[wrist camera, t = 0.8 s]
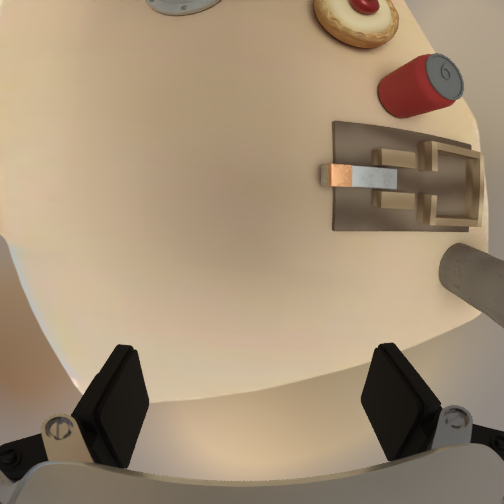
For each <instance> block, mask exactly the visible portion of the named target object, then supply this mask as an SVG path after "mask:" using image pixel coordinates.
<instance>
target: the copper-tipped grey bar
mask: <svg viewBox="0 0 504 504" xmlns="http://www.w3.org/2000/svg"><path fill="white" fill-rule="evenodd" d="M321 185H326V186H341V187H371V188H387V189H397V169H387V168H376V167H363V166H352V165H342V164H327V165H321Z"/></svg>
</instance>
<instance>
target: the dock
mask: <svg viewBox="0 0 504 504" xmlns="http://www.w3.org/2000/svg"><path fill="white" fill-rule="evenodd" d="M332 128H333V164H342V165H352V166H363V167H376V168H387V169H397V189H387V188H371V187H341V186H333V223H332V230H333V231H429V232H468V231H469V226H470V227H481V225H482V214H483V199H484V153H480V152H477V151H473V150H471V145H470V144H466V143H462V142H458V141H454V140H450V139H446V138H442V137H437V136H433V135H428V134H423V133H418V132H413V131H408V130H402V129H396V128H390V127H383V126H376V125H368V124H360V123H351V122H342V121H334V122H332Z"/></svg>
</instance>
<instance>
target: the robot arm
mask: <svg viewBox="0 0 504 504" xmlns="http://www.w3.org/2000/svg"><path fill="white" fill-rule="evenodd" d="M146 1H147V3H148V4H149V6H150V7H151V8H152V9H154V10H155V11H157V12H160V13H162V14H167V15H187V14H192V13H196V12H199V11H202V10H205V9H207V8H209V7H211V6H213V5H215V4H216V3H218V2H219V1H220V0H146ZM361 403H362V406H363V408H364V410H365V412H366V414H367V416H368V418H369V421H370V423H371V425H372V427H373V429H374V431H375V434H376V436H377V438H378V440H379V442H380V445H381V447H382V449H383V451H384V453H385V455H386V457H387V460H388V461H391V462H387V463H383V464H379V465H375V466H371V467H366V468H362V469H357V470H352V471H348V472H341V473H336V474H329V475H323V476H315V477H307V478H298V479H286V480H270V481H214V480H199V479H187V478H178V477H170V476H163V475H156V474H149V473H143V472H137V471H132V470H127V469H124V468H127V467H128V466H129V463H130V460H131V457H132V454H133V451H134V448H135V444H136V442H137V439H138V436H139V433H140V430H141V427H142V424H143V421H144V419H145V416H146V413H147V410H148V407H149V398H148V394H147V390H146V386H145V382H144V378H143V374H142V369H141V365H140V360H139V356H138V352H137V350H134V349H133V347H132V346H130V345H121V344H118V345H117V346H116V347H115V349H114V350H113V352H112V353H111V355H110V357H109V358H108V360H107V361H106V363H105V364H104V366H103V367H102V369H101V370H100V372H99V373H98V374H97V375H96V376H95V377H94V379H93V380H92V382H91V384H90V385H89V387H88V388H87V390H86V391H85V393H84V395H83V396H82V398H81V400H80V401H79V403H78V404H77V406H76V408H75V409H74V411H73V413H72V414H71V416H69V415H67V414H54V415H52V416H49V417H48V418H47V419H45V421H44V422H43V423H42V426H41V433H40V434H37V435H34V436H30V437H27V438H23V439H20V440H16V441H13V442H10V443H6V444H3V445H1V446H0V504H504V432H503V431H499V430H495V429H491V428H487V427H483V426H479V425H475V424H472V423H473V419H472V416H471V414H470V412H468V410H466V409H465V408H463V407H461V406H456V405H451V406H447V407H445V408H444V409H442V407H441V406H440V405H441V402H440V401H439V400H438V398H437V397H436V396H435V394H434V393H433V392H432V391H431V389H430V388H429V387H428V385H427V384H426V383H425V381H424V380H423V379H422V378H421V376H420V375H419V374H418V373H417V371H416V370H415V369H414V367H413V366H412V365H411V364H410V362H409V361H408V360H407V359H406V357H405V356H404V355H403V354H402V352H401V351H400V350H399V349H398V347H397V346H396V345H395V344H394V343H384V344H380V345H379V346H378V348H375V350H374V353H373V357H372V361H371V365H370V368H369V372H368V375H367V379H366V382H365V386H364V389H363V392H362V395H361Z"/></svg>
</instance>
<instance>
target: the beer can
mask: <svg viewBox="0 0 504 504" xmlns="http://www.w3.org/2000/svg"><path fill="white" fill-rule="evenodd" d="M463 91H464V83H463V79H462V76H461V73H460V71H459V69H458V68H457V67H456V65H455V64H454V63H453V62H452V61H451V60H450V59H449V58H448V57H446V56H444V55H442V54H438V53H436V54H427V55H422V56H418V57H417V58H415V59H413V60H412V61H410V62H408V63H407V64H405V65H403V66H402V67H400V68H398V69H397V70H395V71H393V72H392V73H390V74H389V75H387V76H385V77H384V78H383V79H382V80H381V82H380V84H379V90H378V93H379V98H380V100H381V102H382V104H383V106H384V107H385V108H386V110H387V111H388V112H390V113H391V114H392V115H394V116H396V117H399V118H409V117H412V116H416V115H419V114H423V113H427V112H430V111H434V110H438V109H442V108H445V107H448V106H450V105H452V104H453V103H454V102H455V101H456V100H457V99H459V98H460V97H461V96H462V95H463Z"/></svg>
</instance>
